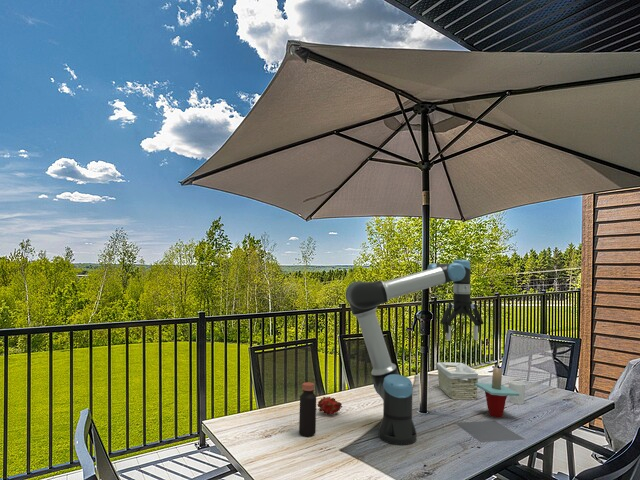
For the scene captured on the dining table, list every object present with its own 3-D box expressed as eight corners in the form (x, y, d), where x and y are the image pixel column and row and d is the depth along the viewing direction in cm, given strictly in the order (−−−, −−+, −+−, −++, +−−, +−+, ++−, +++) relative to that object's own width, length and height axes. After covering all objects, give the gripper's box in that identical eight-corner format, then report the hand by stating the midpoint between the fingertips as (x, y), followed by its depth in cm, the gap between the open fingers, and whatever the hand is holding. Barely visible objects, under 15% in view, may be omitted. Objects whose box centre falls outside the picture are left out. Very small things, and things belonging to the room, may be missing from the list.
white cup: (526, 401, 208) (525, 382, 209) (524, 405, 202) (524, 386, 202) (509, 398, 212) (509, 380, 213) (507, 402, 206) (507, 383, 207)
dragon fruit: (315, 416, 185) (340, 420, 185) (317, 410, 178) (343, 415, 178) (317, 398, 190) (341, 402, 190) (319, 392, 184) (344, 396, 184)
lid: (491, 394, 179) (493, 372, 179) (474, 385, 192) (475, 364, 193) (519, 396, 181) (520, 374, 182) (499, 386, 195) (501, 365, 196)
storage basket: (480, 401, 208) (479, 372, 209) (449, 400, 208) (449, 372, 209) (463, 387, 232) (463, 362, 233) (435, 387, 232) (435, 361, 233)
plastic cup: (511, 421, 180) (511, 394, 181) (486, 419, 182) (486, 392, 183) (505, 413, 190) (505, 387, 191) (481, 411, 192) (481, 386, 193)
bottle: (306, 429, 166) (307, 380, 168) (318, 433, 162) (319, 383, 163) (295, 434, 161) (296, 383, 162) (308, 438, 156) (309, 387, 158)
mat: (480, 443, 156) (480, 442, 156) (454, 423, 176) (454, 422, 176) (525, 440, 160) (525, 439, 160) (494, 421, 179) (494, 420, 179)
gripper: (440, 293, 175) (440, 341, 173) (491, 294, 179) (491, 341, 178) (432, 292, 182) (432, 339, 180) (481, 293, 187) (482, 338, 185)
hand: (462, 340), depth 179 cm, fingers open, 13 cm apart
